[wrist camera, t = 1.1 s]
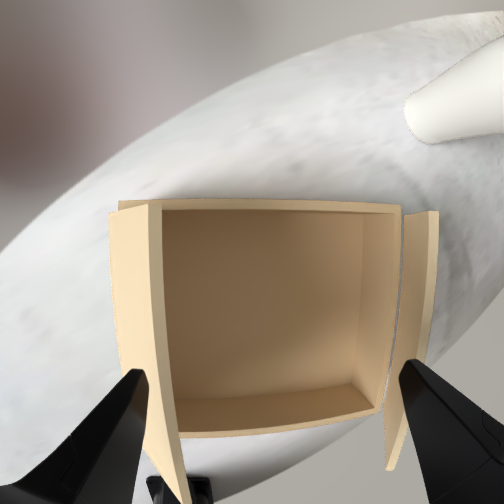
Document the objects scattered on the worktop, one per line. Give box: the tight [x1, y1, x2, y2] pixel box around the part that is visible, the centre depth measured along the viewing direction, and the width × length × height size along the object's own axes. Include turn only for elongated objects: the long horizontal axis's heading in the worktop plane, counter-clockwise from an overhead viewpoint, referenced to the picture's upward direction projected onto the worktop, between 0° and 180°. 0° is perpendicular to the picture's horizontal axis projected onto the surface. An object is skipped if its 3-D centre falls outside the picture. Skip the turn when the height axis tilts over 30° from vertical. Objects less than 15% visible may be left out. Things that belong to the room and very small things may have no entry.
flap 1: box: [109, 204, 192, 504], centre depth 14 cm, size 15×8×1 cm
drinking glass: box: [403, 35, 504, 144], centre depth 17 cm, size 7×7×15 cm
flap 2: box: [383, 211, 439, 471], centre depth 16 cm, size 15×8×1 cm
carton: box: [118, 199, 401, 438], centre depth 21 cm, size 16×18×5 cm
